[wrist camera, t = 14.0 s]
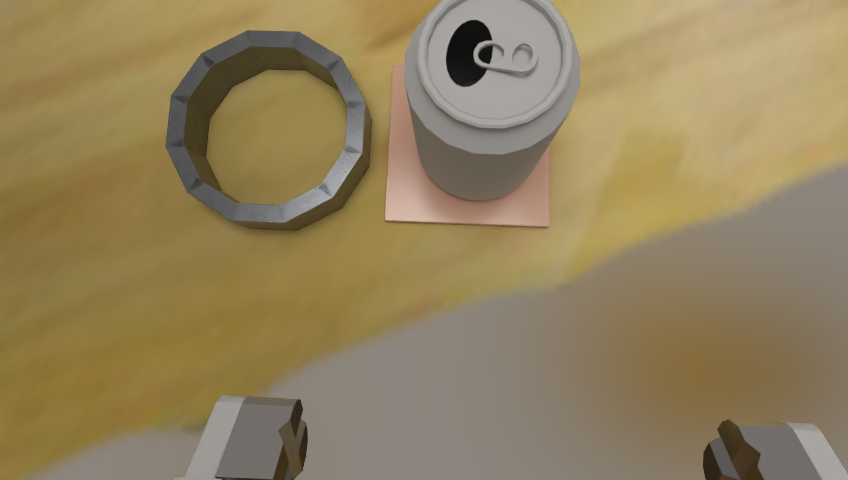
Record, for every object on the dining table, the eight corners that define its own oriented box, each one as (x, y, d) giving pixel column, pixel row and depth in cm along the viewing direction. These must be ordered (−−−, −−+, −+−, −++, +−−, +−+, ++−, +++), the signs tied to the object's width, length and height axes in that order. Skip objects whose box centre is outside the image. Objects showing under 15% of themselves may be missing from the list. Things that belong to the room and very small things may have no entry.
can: (431, 76, 33) (422, -54, 21) (549, 98, 32) (607, -23, 21) (405, 190, 32) (381, 122, 20) (526, 214, 32) (573, 159, 20)
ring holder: (183, 225, 33) (157, 217, 30) (200, 52, 34) (178, 28, 31) (365, 232, 32) (358, 225, 29) (375, 57, 34) (369, 33, 31)
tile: (385, 221, 32) (384, 220, 32) (393, 69, 34) (392, 64, 33) (547, 228, 32) (549, 226, 32) (549, 73, 33) (551, 69, 33)
